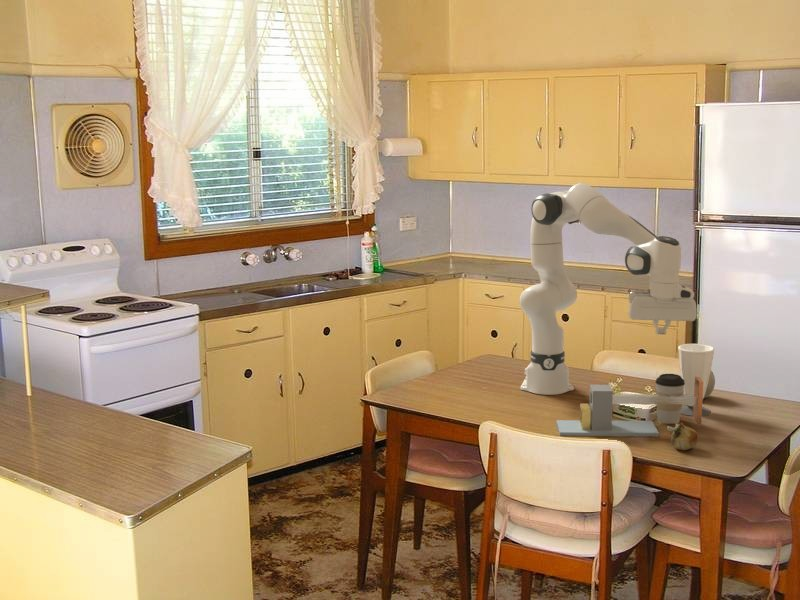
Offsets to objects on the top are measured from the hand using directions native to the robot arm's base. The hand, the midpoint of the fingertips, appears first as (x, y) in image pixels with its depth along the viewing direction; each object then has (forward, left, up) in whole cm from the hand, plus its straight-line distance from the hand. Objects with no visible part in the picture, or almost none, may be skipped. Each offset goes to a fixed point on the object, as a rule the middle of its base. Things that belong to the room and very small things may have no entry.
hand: (660, 333), depth 302 cm
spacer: (+4, -23, -29) cm, 37 cm away
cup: (-16, +15, -30) cm, 37 cm away
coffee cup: (-6, +5, -30) cm, 31 cm away
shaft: (+4, -3, -27) cm, 27 cm away
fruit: (-31, +20, -30) cm, 48 cm away
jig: (+4, -16, -30) cm, 34 cm away
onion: (+21, +4, -30) cm, 37 cm away
